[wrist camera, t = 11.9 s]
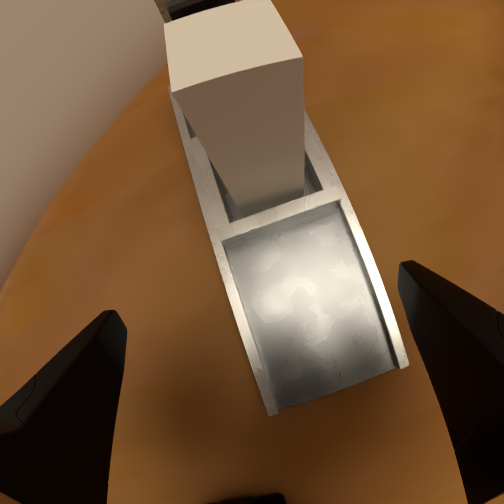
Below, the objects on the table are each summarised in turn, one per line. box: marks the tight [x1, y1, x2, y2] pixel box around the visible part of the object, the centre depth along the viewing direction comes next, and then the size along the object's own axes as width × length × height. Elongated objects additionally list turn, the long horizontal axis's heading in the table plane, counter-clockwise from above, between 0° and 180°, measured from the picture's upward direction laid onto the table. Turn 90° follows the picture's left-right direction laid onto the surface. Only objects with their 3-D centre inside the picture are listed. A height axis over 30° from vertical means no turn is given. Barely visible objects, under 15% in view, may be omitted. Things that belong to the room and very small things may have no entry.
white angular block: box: [164, 0, 305, 218], centre depth 15 cm, size 5×4×12 cm
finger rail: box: [154, 0, 409, 416], centre depth 15 cm, size 25×9×14 cm, turn 18°
